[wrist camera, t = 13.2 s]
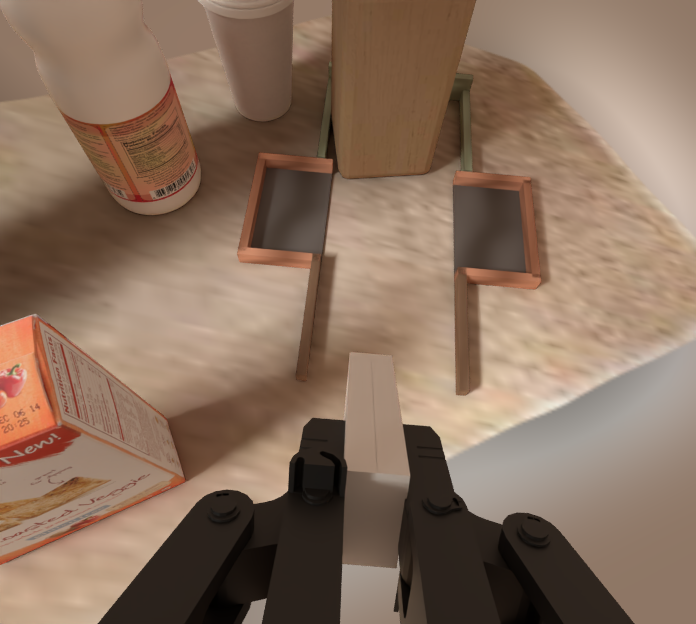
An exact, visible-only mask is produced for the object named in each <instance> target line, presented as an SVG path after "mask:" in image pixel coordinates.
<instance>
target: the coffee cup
mask: <svg viewBox="0 0 696 624" xmlns="http://www.w3.org/2000/svg"><path fill="white" fill-rule="evenodd" d="M198 1H199V2H200V3H201V4H202V5H203V6H204V8H205V11H206V14H207V17H208V20H209V23H210V26H211V29H212V33H213V35H214V39H215V42H216V45H217V49H218V52H219V55H220V58H221V61H222V64H223V68H224V71H225V74H226V77H227V80H228V84H229V87H230V90H231V93H232V96H233V100H234V103H235V106H236V108H237V110H238V111H239V113H240V114H241V115H243V116H244V117H246V118H248V119H251V120H254V121H270V120H274V119H277V118H279V117H281V116H282V115H284V114H285V113H286V112H287V111H288V109H289V108H290V105H291V93H292V45H293V6H294V0H198Z"/></svg>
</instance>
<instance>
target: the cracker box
mask: <svg viewBox="0 0 696 624" xmlns="http://www.w3.org/2000/svg"><path fill="white" fill-rule="evenodd" d="M184 482H185V477H184V474H183V471H182V467H181V464H180V461H179V458H178V454H177V451H176V448H175V445H174V442H173V438H172V435H171V432H170V429H169V425H168V422H167V419H166V418H165V417H164V416H163V415H162V414H161V413H159V412H158V411H157V410H156V409H155V408H153V407H152V406H151V405H150V404H148V403H147V402H146V401H145V400H144V399H142V398H141V397H140V396H139V395H137V394H136V393H135V392H134V391H132V390H131V389H130V388H129V387H128V386H126V385H125V384H124V383H122V382H121V381H120V380H119V379H118V378H116V377H115V376H114V375H113V374H111V373H110V372H109V371H108V370H106V369H105V368H104V367H103V366H101V365H100V364H99V363H98V362H96V361H95V360H94V359H93V358H91V357H90V356H89V355H88V354H86V353H85V352H84V351H83V350H81V349H80V348H79V347H78V346H76V345H75V344H74V343H73V342H71V341H70V340H69V339H67V338H66V337H65V336H64V335H62V334H61V333H60V332H59V331H57V330H56V329H55V328H54V327H52V326H51V325H50V324H48V323H47V322H46V321H45V320H44V319H43V318H41V317H40V316H39V315H37V314H33V315H30V316H27V317H24V318H21V319H18V320H15V321H12V322H9V323H6V324H4V325H1V326H0V565H1V564H3V563H5V562H7V561H10V560H12V559H14V558H16V557H18V556H20V555H23V554H25V553H27V552H30V551H32V550H34V549H36V548H39V547H41V546H43V545H45V544H47V543H50V542H52V541H54V540H57V539H59V538H61V537H63V536H65V535H68V534H70V533H72V532H74V531H76V530H79V529H81V528H83V527H85V526H88V525H90V524H92V523H95V522H97V521H99V520H101V519H104V518H106V517H108V516H110V515H112V514H115V513H117V512H119V511H121V510H124V509H126V508H128V507H130V506H133V505H135V504H137V503H139V502H142V501H144V500H146V499H148V498H150V497H153V496H155V495H157V494H159V493H162V492H164V491H166V490H168V489H171V488H173V487H175V486H177V485H179V484H182V483H184Z"/></svg>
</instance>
